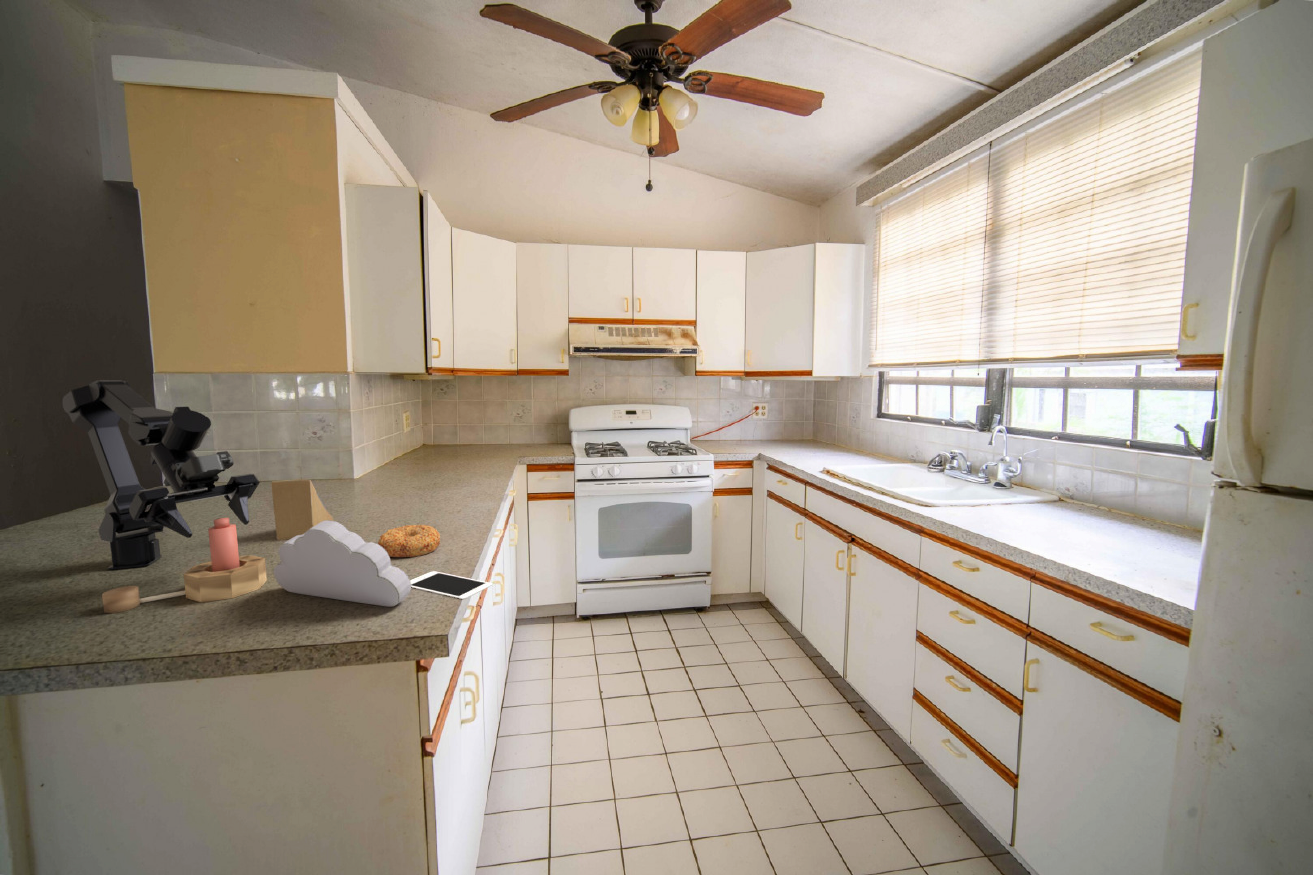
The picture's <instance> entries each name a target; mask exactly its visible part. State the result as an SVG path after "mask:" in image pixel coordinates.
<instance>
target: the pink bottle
mask: <svg viewBox="0 0 1313 875" xmlns="http://www.w3.org/2000/svg"><path fill="white" fill-rule="evenodd" d="M213 525H214V526H210V527H208V528H207V530H208V532H207V533H208V541H209V552H210V560H211V563H212V572H218V571H227V570H231V569H235V568H238V567H240V564H239V556H240V555H239V544H238V535H237V533H238V532H237V524H234V523H230V518H229V517H221V518H215V519H213Z"/></svg>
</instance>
